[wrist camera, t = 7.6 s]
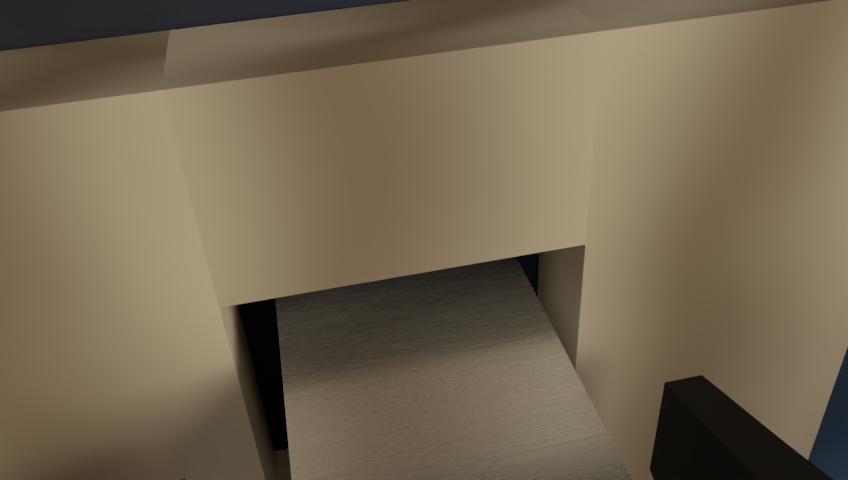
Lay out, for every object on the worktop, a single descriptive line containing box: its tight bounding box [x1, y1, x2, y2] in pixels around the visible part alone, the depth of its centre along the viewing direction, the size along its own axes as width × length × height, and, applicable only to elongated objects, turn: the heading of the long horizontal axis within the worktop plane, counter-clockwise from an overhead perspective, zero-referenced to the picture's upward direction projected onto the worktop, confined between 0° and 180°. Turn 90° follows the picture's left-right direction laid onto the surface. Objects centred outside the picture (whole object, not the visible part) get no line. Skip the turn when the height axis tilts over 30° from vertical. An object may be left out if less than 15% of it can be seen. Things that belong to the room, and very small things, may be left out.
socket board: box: [0, 0, 848, 480], centre depth 14 cm, size 16×12×2 cm
